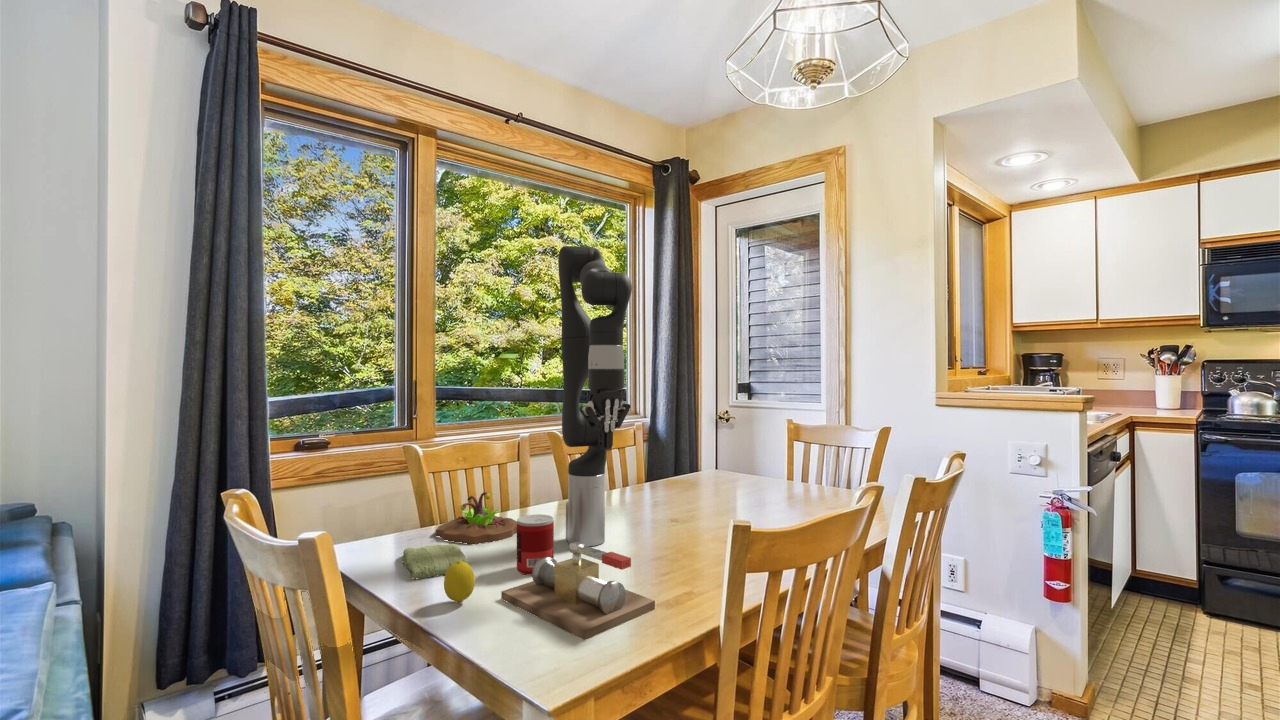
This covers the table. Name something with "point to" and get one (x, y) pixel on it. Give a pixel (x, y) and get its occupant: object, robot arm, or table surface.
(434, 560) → the washcloth
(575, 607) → the walnut board
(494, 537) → the plant
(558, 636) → the table surface
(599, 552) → the valve lever
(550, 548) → the canned food
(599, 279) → the robot arm
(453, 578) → the lemon
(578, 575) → the valve body
